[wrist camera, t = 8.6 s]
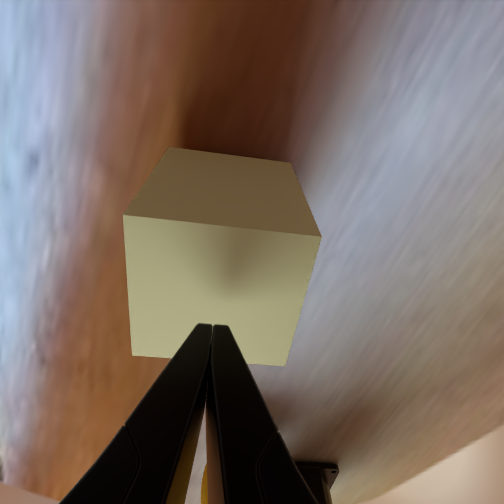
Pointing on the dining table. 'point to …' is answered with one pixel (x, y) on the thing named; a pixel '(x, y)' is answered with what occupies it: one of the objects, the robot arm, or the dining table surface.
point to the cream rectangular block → (218, 253)
